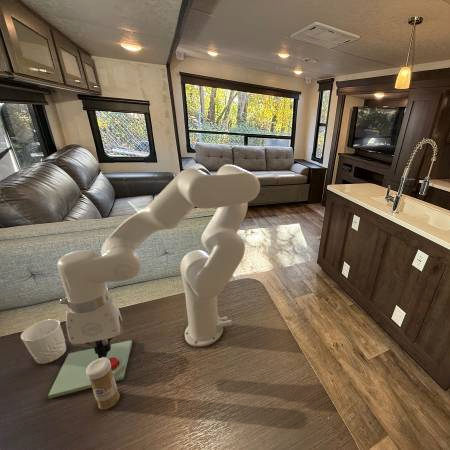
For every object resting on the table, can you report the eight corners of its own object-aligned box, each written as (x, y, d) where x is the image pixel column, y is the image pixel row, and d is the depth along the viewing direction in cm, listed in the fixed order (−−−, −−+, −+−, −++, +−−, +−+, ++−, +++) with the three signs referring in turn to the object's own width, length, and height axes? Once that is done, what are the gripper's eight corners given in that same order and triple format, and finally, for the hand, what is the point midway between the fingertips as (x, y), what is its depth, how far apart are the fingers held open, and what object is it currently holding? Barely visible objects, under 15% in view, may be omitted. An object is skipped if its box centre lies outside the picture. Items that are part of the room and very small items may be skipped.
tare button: (119, 360, 72) (118, 355, 71) (116, 369, 69) (115, 365, 68) (106, 363, 70) (104, 359, 70) (102, 373, 68) (101, 369, 67)
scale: (132, 342, 80) (130, 335, 79) (123, 379, 69) (121, 372, 68) (69, 356, 74) (66, 349, 73) (49, 399, 63) (45, 391, 62)
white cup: (47, 369, 70) (35, 343, 66) (25, 362, 71) (12, 336, 67) (76, 346, 77) (67, 322, 73) (55, 340, 78) (45, 316, 75)
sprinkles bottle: (96, 413, 61) (82, 377, 56) (100, 395, 65) (88, 360, 60) (118, 406, 63) (107, 370, 58) (121, 389, 67) (111, 354, 62)
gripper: (41, 316, 54) (62, 373, 61) (123, 303, 60) (134, 357, 67) (56, 294, 60) (74, 349, 67) (129, 285, 66) (138, 336, 73)
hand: (104, 353), depth 67 cm, fingers closed
